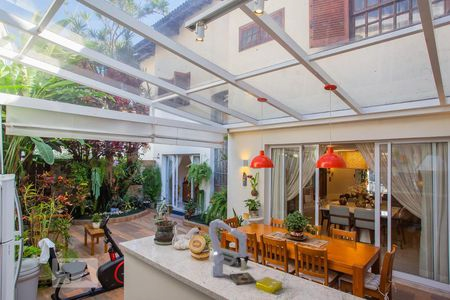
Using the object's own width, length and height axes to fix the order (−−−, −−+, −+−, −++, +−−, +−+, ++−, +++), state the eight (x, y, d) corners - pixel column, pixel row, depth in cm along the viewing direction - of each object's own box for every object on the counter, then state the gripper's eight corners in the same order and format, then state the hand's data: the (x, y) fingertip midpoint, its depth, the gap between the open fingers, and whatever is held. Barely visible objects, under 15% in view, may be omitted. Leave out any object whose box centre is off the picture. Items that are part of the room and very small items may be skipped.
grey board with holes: (236, 284, 201) (236, 282, 202) (229, 276, 218) (229, 273, 218) (256, 282, 206) (256, 280, 206) (248, 274, 222) (248, 272, 222)
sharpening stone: (215, 261, 252) (215, 249, 253) (220, 259, 258) (221, 247, 258) (235, 268, 235) (235, 255, 236) (241, 265, 241) (241, 253, 242)
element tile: (265, 282, 208) (265, 275, 209) (283, 287, 199) (283, 281, 199) (254, 288, 197) (255, 281, 197) (273, 295, 187) (273, 287, 188)
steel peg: (240, 270, 211) (241, 261, 211) (239, 269, 215) (239, 260, 215) (245, 270, 212) (245, 261, 212) (243, 268, 216) (243, 259, 216)
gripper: (235, 251, 208) (235, 269, 207) (253, 249, 212) (252, 267, 212) (232, 248, 215) (232, 266, 214) (249, 247, 219) (249, 264, 218)
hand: (242, 266), depth 213 cm, fingers closed on steel peg, 4 cm apart
